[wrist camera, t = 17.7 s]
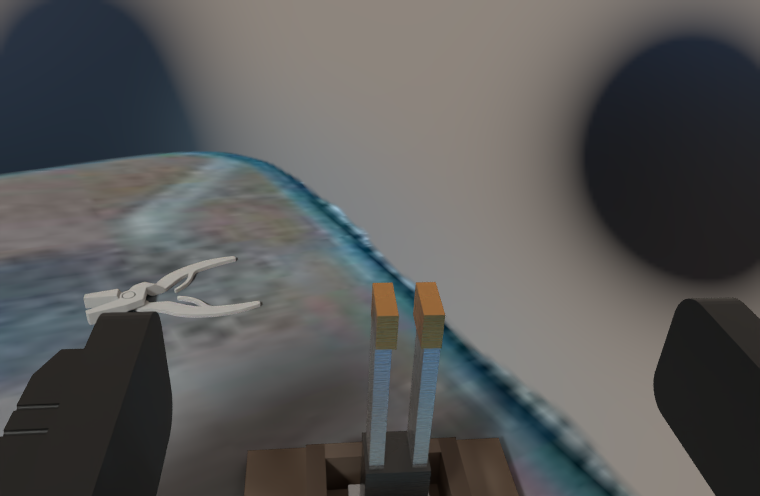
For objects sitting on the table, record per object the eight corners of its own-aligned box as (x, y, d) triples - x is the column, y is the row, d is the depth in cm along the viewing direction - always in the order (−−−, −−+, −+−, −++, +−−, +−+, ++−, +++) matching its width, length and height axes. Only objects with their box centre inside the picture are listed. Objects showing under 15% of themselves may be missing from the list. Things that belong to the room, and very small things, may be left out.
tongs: (350, 563, 38) (358, 324, 30) (347, 505, 42) (354, 276, 33) (434, 558, 39) (466, 322, 30) (424, 502, 42) (450, 275, 34)
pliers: (260, 297, 61) (89, 335, 55) (261, 310, 62) (92, 349, 56) (233, 248, 69) (79, 276, 63) (234, 260, 70) (82, 290, 64)
